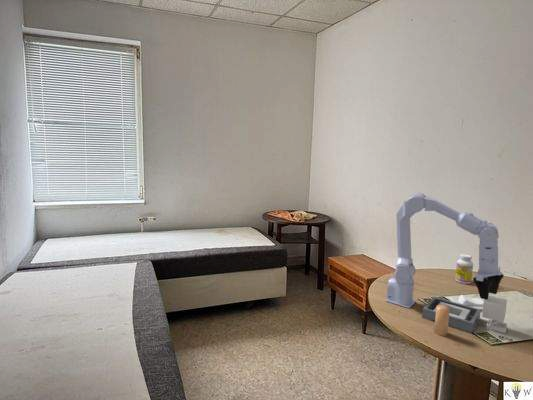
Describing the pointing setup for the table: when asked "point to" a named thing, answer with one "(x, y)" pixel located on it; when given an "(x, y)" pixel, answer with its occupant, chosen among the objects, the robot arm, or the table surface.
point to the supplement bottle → (464, 269)
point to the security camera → (495, 313)
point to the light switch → (469, 301)
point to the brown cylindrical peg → (441, 320)
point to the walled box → (454, 314)
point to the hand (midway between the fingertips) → (488, 295)
